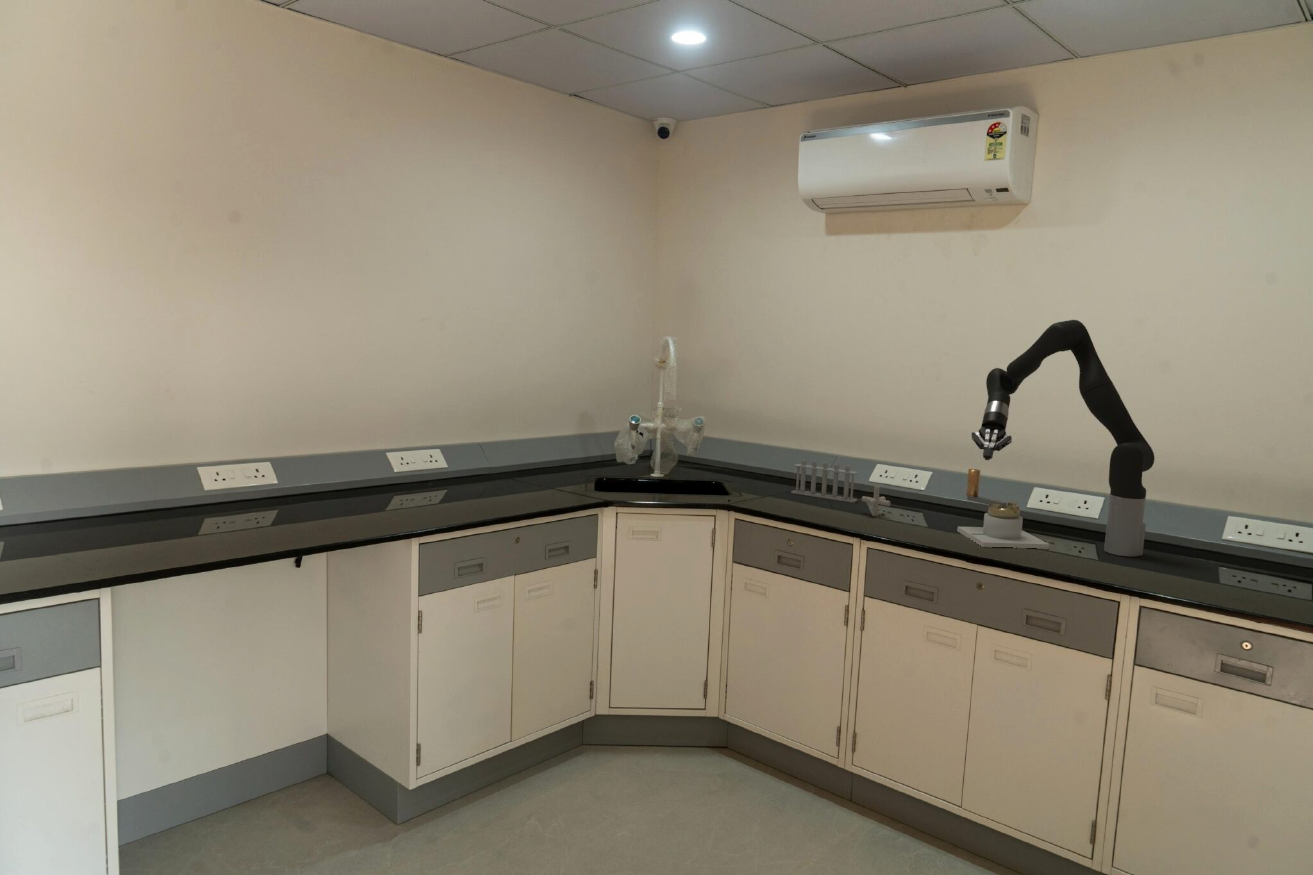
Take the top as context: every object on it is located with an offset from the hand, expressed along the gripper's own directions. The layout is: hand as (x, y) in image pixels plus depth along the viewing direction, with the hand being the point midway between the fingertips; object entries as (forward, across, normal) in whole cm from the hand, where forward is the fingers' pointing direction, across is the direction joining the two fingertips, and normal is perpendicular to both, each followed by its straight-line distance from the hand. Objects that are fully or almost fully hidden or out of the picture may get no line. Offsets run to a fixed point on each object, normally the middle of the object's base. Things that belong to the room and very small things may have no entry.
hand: (987, 458), depth 274 cm
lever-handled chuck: (+17, +3, +5) cm, 18 cm away
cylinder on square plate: (+24, +8, +9) cm, 27 cm away
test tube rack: (+3, -59, +31) cm, 67 cm away
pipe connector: (+17, -34, +16) cm, 42 cm away
